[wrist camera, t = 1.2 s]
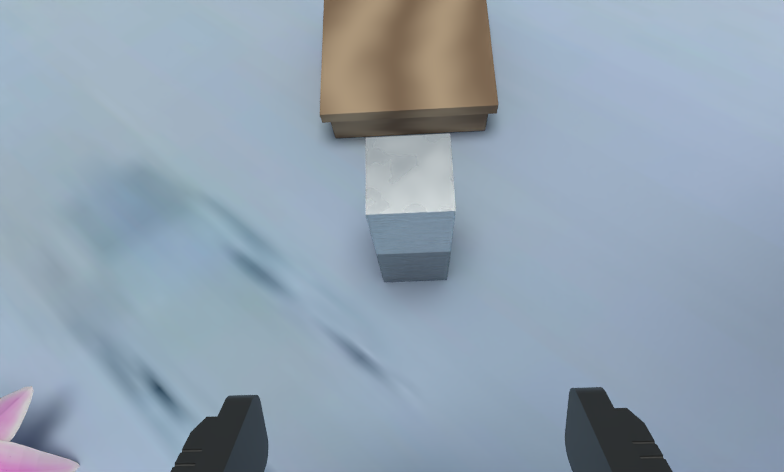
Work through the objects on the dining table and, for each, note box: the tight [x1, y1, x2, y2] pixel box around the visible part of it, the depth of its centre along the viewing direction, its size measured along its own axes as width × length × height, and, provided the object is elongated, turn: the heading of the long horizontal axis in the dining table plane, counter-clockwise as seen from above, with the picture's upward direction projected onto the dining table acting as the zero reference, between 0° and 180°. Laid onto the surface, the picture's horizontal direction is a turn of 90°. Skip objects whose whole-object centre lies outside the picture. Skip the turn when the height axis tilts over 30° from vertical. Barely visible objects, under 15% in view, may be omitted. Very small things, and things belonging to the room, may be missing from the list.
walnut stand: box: [320, 0, 498, 138], centre depth 42 cm, size 13×13×4 cm
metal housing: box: [366, 133, 456, 282], centre depth 32 cm, size 4×4×12 cm
